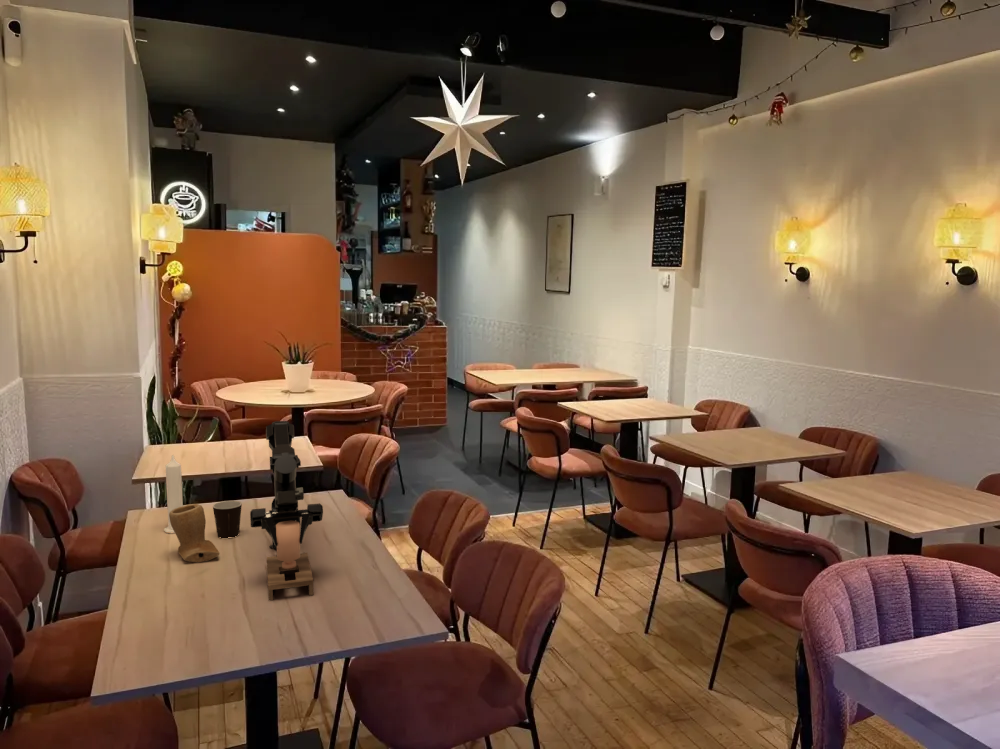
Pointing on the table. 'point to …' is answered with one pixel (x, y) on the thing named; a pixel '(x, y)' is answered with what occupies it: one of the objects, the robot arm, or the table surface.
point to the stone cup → (192, 533)
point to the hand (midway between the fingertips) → (288, 544)
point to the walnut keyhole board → (275, 566)
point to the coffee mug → (227, 518)
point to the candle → (173, 488)
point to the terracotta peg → (288, 543)
